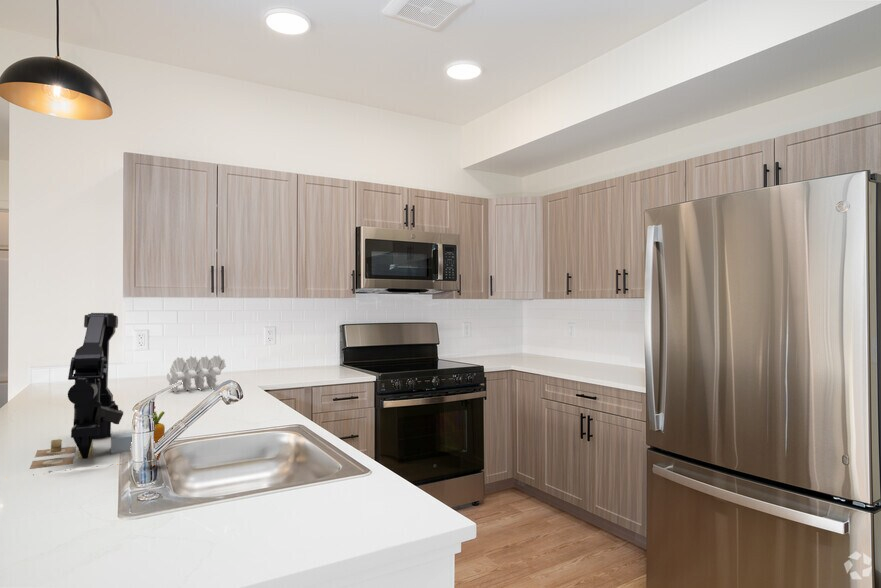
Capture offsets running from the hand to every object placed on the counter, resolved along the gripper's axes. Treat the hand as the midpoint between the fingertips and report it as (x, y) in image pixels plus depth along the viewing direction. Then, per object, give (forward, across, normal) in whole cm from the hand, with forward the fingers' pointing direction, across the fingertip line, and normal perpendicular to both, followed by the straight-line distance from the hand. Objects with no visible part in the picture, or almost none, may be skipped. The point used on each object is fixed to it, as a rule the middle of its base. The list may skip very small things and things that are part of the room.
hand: (85, 456), depth 143 cm
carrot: (+1, -16, -15) cm, 22 cm away
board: (+1, +10, +7) cm, 12 cm away
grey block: (+1, +4, -9) cm, 10 cm away
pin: (+1, 0, 0) cm, 1 cm away
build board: (+1, -2, +7) cm, 7 cm away
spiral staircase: (+1, +116, -43) cm, 124 cm away
